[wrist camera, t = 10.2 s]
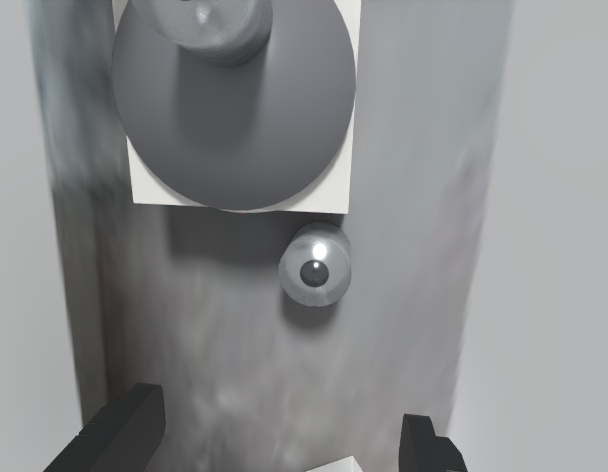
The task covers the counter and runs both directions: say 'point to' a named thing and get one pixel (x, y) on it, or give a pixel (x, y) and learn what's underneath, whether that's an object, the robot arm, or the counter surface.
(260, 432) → the counter surface
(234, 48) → the steel spacer
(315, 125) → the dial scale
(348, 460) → the milk
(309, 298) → the cylinder
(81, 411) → the counter surface
